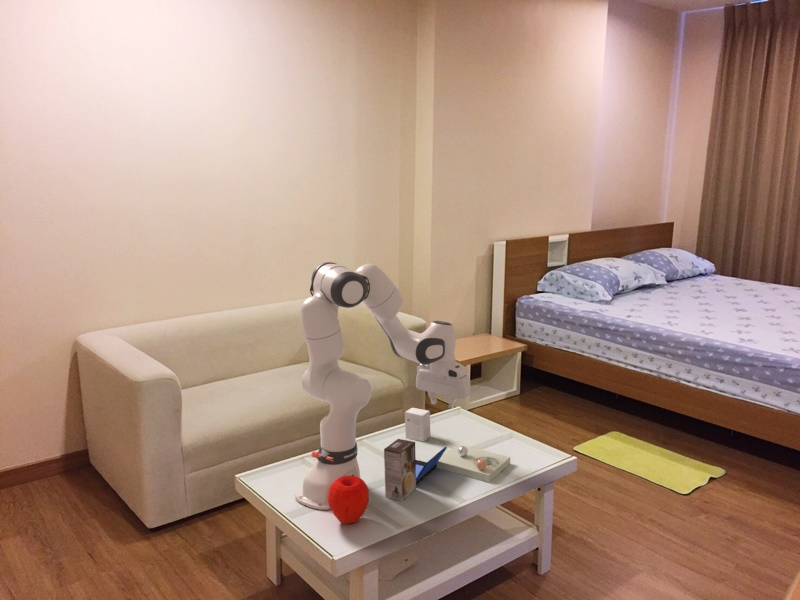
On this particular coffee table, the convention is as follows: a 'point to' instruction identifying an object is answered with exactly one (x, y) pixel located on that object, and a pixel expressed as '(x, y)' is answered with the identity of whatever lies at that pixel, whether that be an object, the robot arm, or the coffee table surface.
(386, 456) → the coffee box
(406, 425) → the small box
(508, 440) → the coffee table surface
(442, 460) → the beige flat block
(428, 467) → the handheld game console
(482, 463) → the terracotta ball
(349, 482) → the apple
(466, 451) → the steel ball
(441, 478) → the coffee table surface
